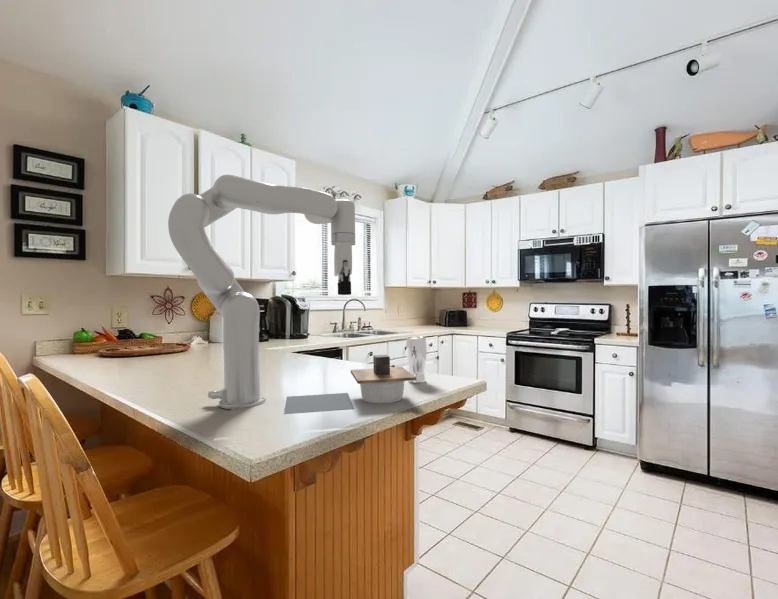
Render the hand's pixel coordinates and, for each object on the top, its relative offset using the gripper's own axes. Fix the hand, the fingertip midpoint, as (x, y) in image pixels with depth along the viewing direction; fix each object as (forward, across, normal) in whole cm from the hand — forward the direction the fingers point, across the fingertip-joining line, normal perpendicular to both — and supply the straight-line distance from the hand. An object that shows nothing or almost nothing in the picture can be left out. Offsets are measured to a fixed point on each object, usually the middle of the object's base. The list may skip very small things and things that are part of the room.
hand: (344, 294), depth 132 cm
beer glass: (+31, -7, +25) cm, 40 cm away
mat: (+30, +14, -9) cm, 35 cm away
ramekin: (+31, +14, +9) cm, 35 cm away
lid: (+24, +14, +9) cm, 29 cm away
